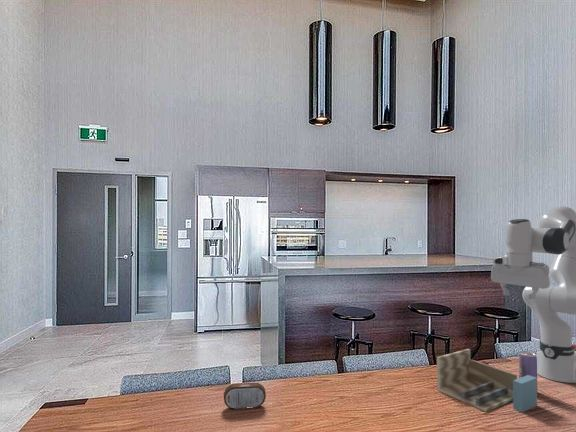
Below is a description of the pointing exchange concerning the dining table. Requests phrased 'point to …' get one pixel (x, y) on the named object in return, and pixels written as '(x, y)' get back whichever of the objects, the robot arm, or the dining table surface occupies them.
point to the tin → (244, 395)
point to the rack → (474, 381)
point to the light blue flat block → (524, 393)
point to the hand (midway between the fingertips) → (518, 297)
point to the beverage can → (527, 364)
